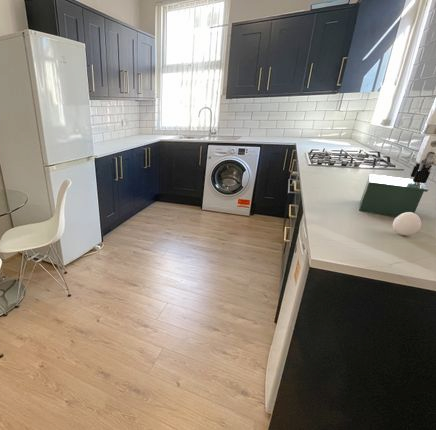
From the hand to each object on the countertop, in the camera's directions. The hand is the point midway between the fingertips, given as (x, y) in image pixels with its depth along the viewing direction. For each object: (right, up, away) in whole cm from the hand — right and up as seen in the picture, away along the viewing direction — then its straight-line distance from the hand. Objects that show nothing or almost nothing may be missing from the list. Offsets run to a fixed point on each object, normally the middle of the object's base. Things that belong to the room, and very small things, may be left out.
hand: (417, 179), depth 101 cm
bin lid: (-4, -1, +4) cm, 6 cm away
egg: (-18, -19, -12) cm, 29 cm away
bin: (-4, -11, +8) cm, 14 cm away
